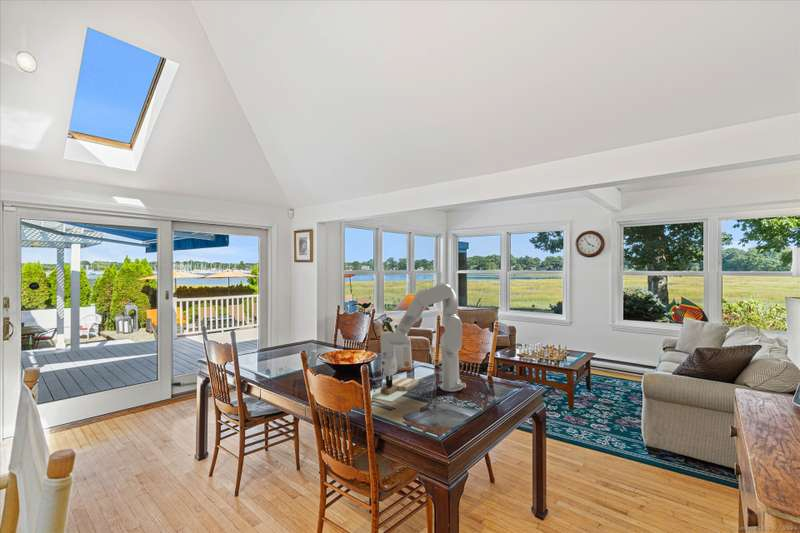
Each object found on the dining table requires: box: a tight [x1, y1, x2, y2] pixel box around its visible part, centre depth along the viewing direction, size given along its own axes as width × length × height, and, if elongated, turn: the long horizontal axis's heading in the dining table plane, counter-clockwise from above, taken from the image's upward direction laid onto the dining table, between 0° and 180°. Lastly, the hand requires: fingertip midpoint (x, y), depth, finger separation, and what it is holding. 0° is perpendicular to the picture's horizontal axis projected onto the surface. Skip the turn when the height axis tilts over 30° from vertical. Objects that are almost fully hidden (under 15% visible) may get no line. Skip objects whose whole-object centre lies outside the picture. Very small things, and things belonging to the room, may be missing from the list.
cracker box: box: [394, 337, 413, 372], centre depth 253 cm, size 14×6×21 cm, turn 84°
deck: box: [382, 376, 420, 392], centre depth 221 cm, size 16×14×2 cm
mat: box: [371, 386, 408, 403], centre depth 208 cm, size 18×16×1 cm
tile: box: [381, 385, 399, 395], centre depth 211 cm, size 6×9×2 cm, turn 147°
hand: (389, 386), depth 211 cm, fingers closed
